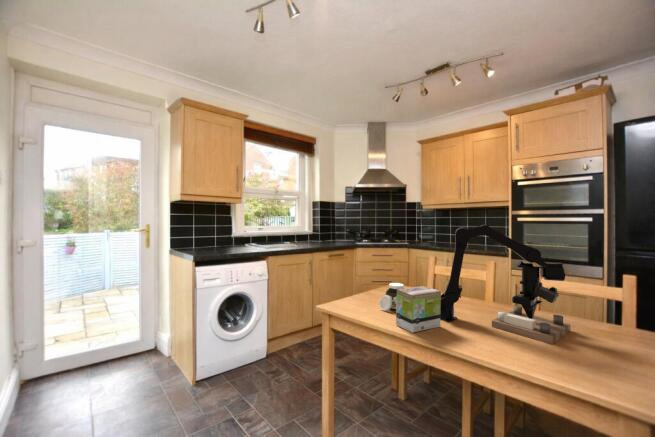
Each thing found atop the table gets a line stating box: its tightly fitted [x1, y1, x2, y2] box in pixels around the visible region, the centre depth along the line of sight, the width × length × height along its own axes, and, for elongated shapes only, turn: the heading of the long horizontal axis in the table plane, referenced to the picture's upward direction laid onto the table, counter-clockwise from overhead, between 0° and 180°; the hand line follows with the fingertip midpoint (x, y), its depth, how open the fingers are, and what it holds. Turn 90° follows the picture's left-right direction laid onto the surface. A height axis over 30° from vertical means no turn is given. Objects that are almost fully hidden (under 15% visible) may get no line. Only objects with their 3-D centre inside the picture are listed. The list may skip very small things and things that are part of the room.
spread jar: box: [378, 282, 405, 312], centre depth 138 cm, size 12×11×12 cm
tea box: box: [395, 285, 442, 334], centre depth 117 cm, size 15×10×15 cm, turn 117°
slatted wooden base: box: [491, 305, 571, 345], centre depth 114 cm, size 20×20×6 cm
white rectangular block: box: [497, 311, 535, 330], centre depth 112 cm, size 12×4×3 cm, turn 36°
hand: (530, 318), depth 114 cm, fingers closed
